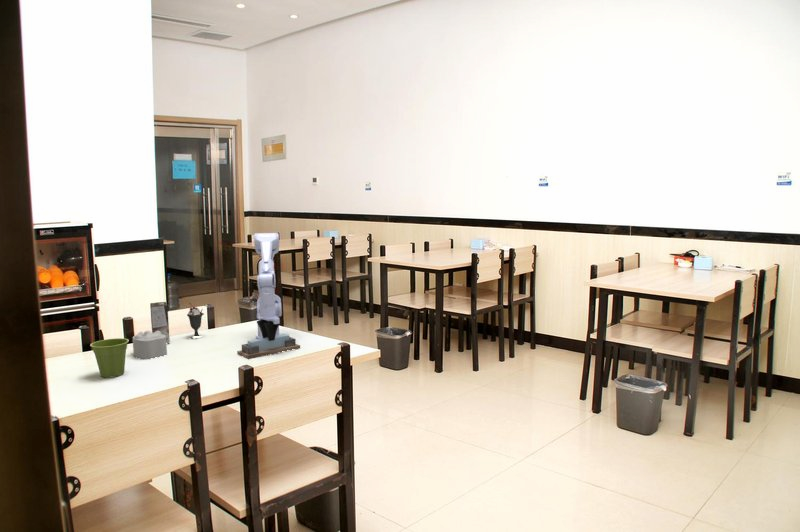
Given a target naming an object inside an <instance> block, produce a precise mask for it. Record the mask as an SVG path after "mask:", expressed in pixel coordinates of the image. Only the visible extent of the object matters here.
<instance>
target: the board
mask: <svg viewBox="0 0 800 532" xmlns="http://www.w3.org/2000/svg"><path fill="white" fill-rule="evenodd" d="M297 348H300V349H301V345H300V344H298V343H297V340H296V338H294V337H290V336H289V340H285V346H284V347H279V348H273V349H268V350H263V351H259V346H253V347H249V346H248V343H246V344H245V343H244V344H241V350H237V353H236V354H237V355H238V356H239V357H240V356H241V357H242V356H243V357H242V358H245V359H246V360H247V359H248V360H251V359H255V358H261V357H266V356H270V354H271V355H275V354H274V353H276V354H279V353H278V352H280V353H283V352H282V351H285V352H288V351H287V350H290V351H293V350H292V349H295V350H298V349H297Z"/></svg>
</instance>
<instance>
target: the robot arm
mask: <svg viewBox="0 0 800 532" xmlns="http://www.w3.org/2000/svg"><path fill="white" fill-rule="evenodd" d="M253 240H254V241H253V242H254V243H253V244H254V250H255V252H256V254H257V255H260V256H261V260H260V261H259V262H258V275H257V280H256V282H257V283H256V284H257V289H258V294H259V295H258V296H259V297H258V298H257V305H256V312H257V313H256V319H257V321H256V324H257V336H255V338H256V339H261V338H266V337H268V340H269V341H273V340H275V336H277V335H280V325H281V324H280V323H281V322H280V321H281V320H280V317H281V316H282V315H283V314H282V313H283V311H282V310H283V309H282V299H281V297H280V296H279V295H277V294H275V289H276V274H275V263H274V257H275V255H276V254H277V253H279V251H280V236H279V233H278V232H258V233H257V232H255V233H254V234H253Z"/></svg>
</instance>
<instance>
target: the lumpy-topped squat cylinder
mask: <svg viewBox="0 0 800 532" xmlns="http://www.w3.org/2000/svg"><path fill="white" fill-rule="evenodd" d="M167 345H168V344H166V336H165V335H163V334H161V332H160V331H155V332H154V333H152V331H150V330H146V331H144V332H142V331H140V332H138V333H137V334H135V335H134V336H132V348H133V350H132V351H133V352H132V353H133V357H134V358H136V357H137V358H136V359H139V358H140V359H139V360H151V358H153V359H156V358H155V357H157V358H161V357H160V356H162V357H165V356H164V355H166V356H167V355H168V349H167Z"/></svg>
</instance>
